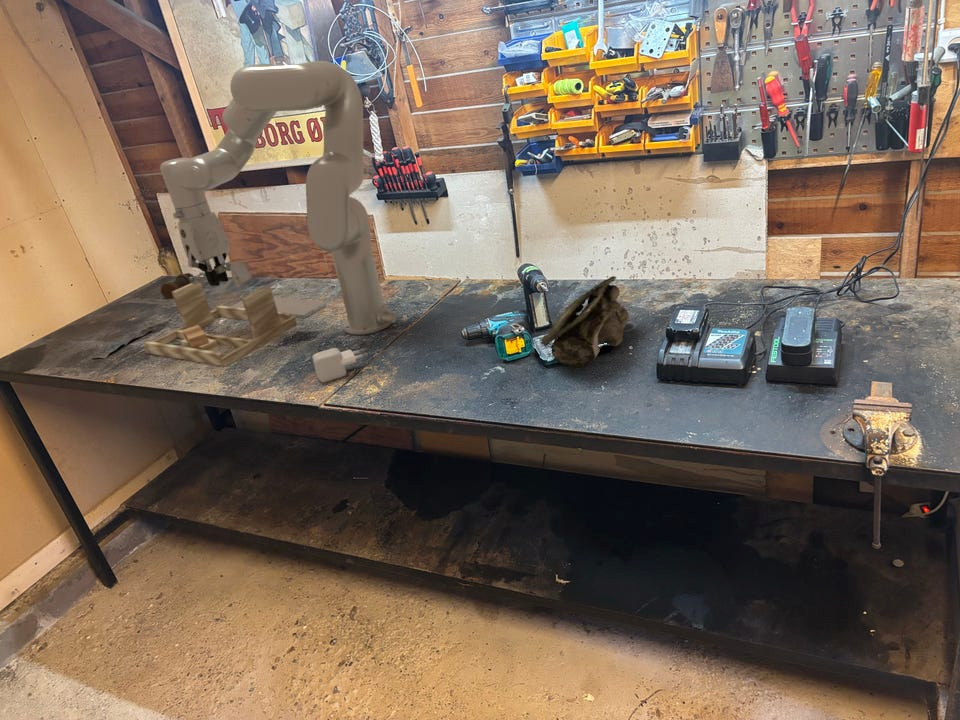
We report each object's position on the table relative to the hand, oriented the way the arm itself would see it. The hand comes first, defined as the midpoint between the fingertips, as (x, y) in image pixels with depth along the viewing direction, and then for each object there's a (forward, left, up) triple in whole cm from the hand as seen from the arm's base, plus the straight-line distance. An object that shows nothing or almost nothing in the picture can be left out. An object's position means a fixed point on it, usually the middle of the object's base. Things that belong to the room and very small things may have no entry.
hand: (219, 282), depth 162 cm
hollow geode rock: (-93, -12, -14) cm, 95 cm away
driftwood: (+29, +13, -15) cm, 35 cm away
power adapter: (-47, +11, -14) cm, 50 cm away
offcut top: (0, +11, -11) cm, 16 cm away
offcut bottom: (0, +11, -14) cm, 18 cm away
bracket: (0, 0, -1) cm, 1 cm away
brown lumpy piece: (+50, -22, -14) cm, 56 cm away
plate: (0, -16, -14) cm, 21 cm away
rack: (0, +4, -14) cm, 14 cm away
